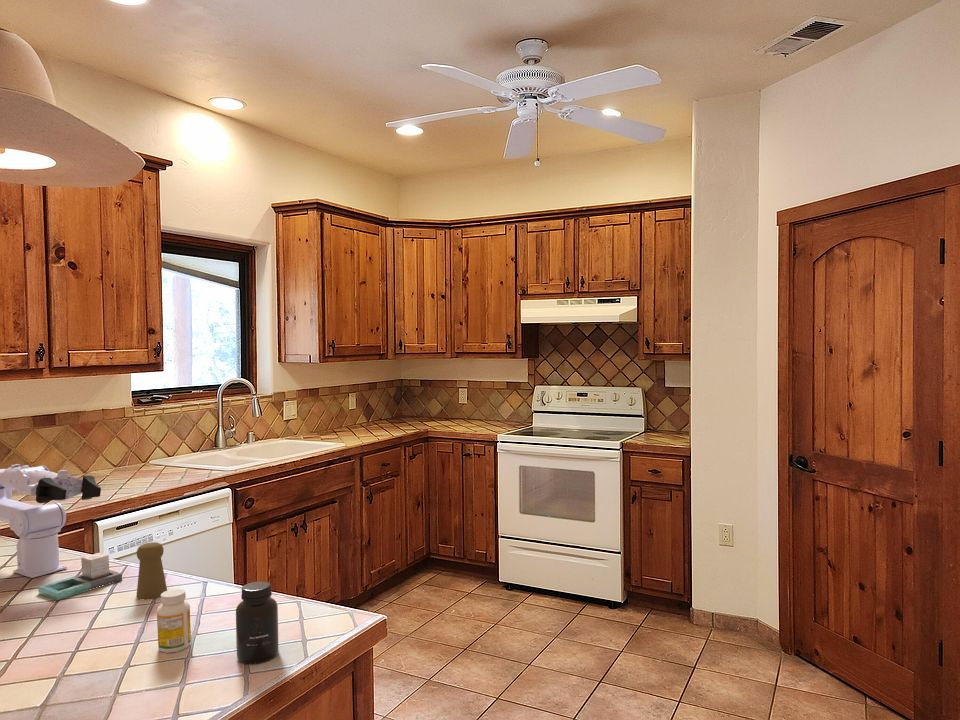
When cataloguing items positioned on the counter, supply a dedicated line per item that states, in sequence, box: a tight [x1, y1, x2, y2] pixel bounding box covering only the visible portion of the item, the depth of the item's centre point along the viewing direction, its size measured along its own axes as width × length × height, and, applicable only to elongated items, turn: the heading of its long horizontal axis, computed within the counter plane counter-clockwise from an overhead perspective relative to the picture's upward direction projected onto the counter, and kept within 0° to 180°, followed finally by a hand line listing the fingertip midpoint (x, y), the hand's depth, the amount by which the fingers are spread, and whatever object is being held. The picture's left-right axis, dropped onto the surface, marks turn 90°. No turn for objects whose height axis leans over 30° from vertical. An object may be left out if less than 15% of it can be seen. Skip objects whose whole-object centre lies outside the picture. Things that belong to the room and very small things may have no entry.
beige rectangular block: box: [80, 552, 110, 581], centre depth 156 cm, size 4×4×6 cm
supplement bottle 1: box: [156, 588, 192, 654], centre depth 121 cm, size 5×5×10 cm
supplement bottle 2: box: [235, 581, 279, 665], centre depth 117 cm, size 7×7×12 cm
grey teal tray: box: [38, 569, 123, 601], centre depth 154 cm, size 8×14×2 cm, turn 147°
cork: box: [136, 541, 168, 601], centre depth 147 cm, size 6×6×11 cm
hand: (82, 493), depth 154 cm, fingers open, 7 cm apart
